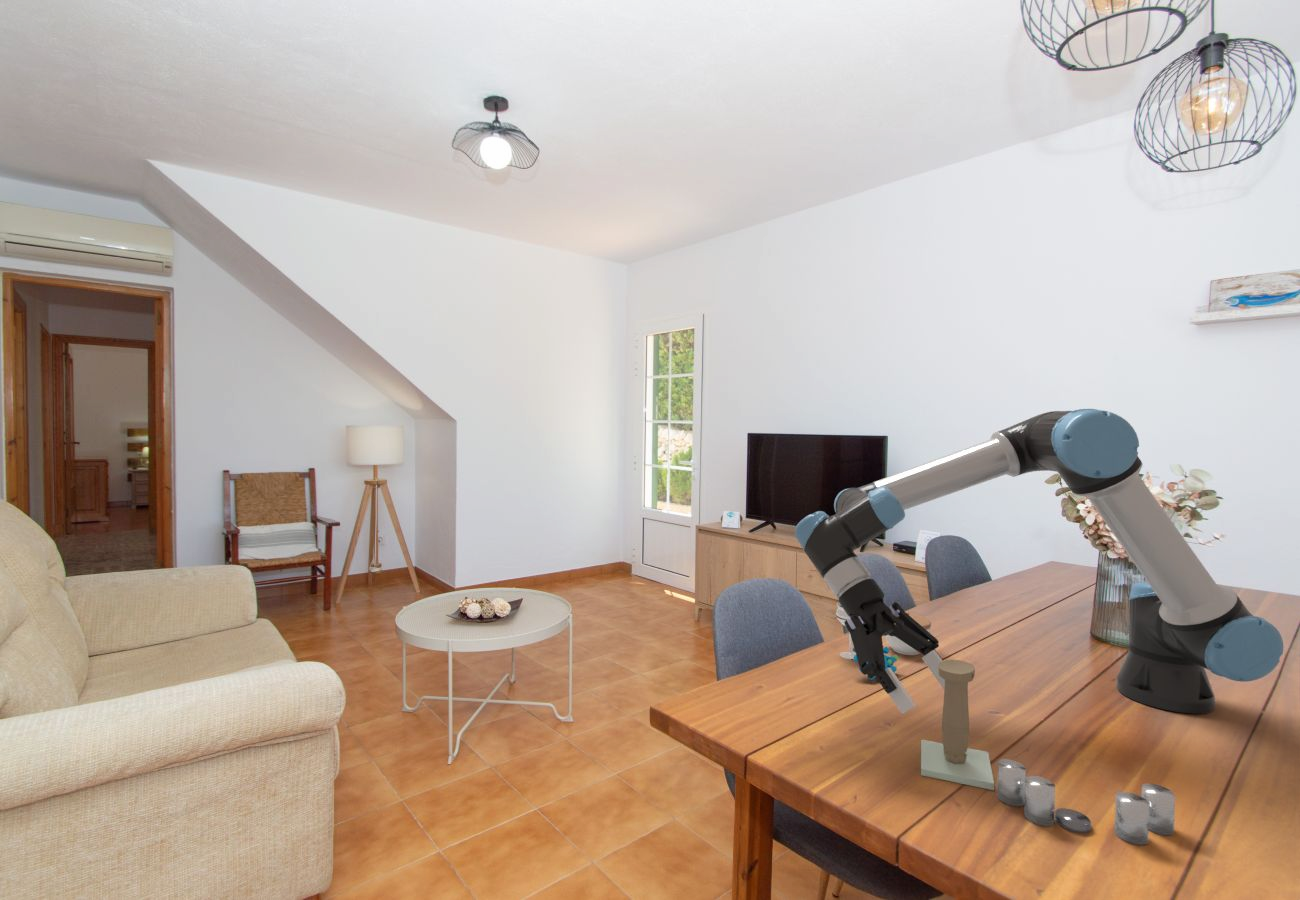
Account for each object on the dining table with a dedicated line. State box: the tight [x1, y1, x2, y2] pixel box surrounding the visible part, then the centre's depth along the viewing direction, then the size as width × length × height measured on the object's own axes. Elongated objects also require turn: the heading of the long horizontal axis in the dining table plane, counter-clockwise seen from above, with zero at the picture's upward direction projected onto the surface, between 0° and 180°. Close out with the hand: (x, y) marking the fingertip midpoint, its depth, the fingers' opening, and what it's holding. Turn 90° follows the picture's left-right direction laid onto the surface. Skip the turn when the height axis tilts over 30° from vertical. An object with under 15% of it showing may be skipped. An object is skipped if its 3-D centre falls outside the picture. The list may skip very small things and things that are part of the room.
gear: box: [851, 646, 899, 681], centre depth 136 cm, size 11×6×10 cm
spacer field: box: [996, 758, 1176, 846], centre depth 86 cm, size 21×8×5 cm, turn 66°
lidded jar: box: [884, 611, 932, 656], centre depth 150 cm, size 11×11×9 cm
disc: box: [1054, 807, 1092, 835], centre depth 85 cm, size 4×4×1 cm
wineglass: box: [835, 602, 856, 660], centre depth 147 cm, size 7×7×12 cm
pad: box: [920, 739, 995, 791], centre depth 99 cm, size 10×10×1 cm
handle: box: [938, 659, 976, 764], centre depth 99 cm, size 5×6×15 cm
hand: (932, 699), depth 102 cm, fingers open, 13 cm apart
